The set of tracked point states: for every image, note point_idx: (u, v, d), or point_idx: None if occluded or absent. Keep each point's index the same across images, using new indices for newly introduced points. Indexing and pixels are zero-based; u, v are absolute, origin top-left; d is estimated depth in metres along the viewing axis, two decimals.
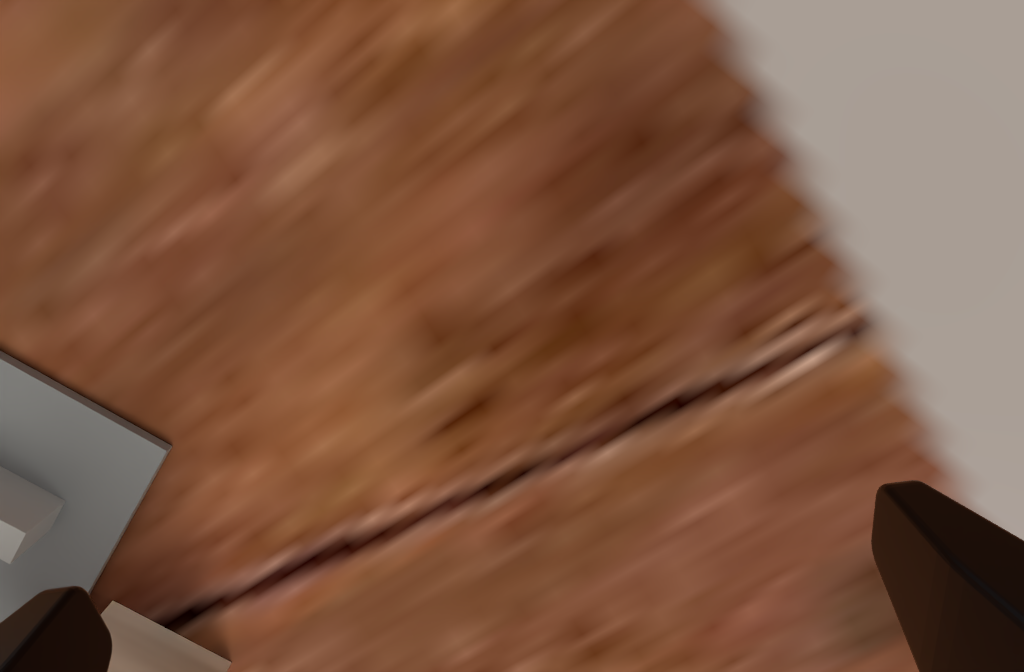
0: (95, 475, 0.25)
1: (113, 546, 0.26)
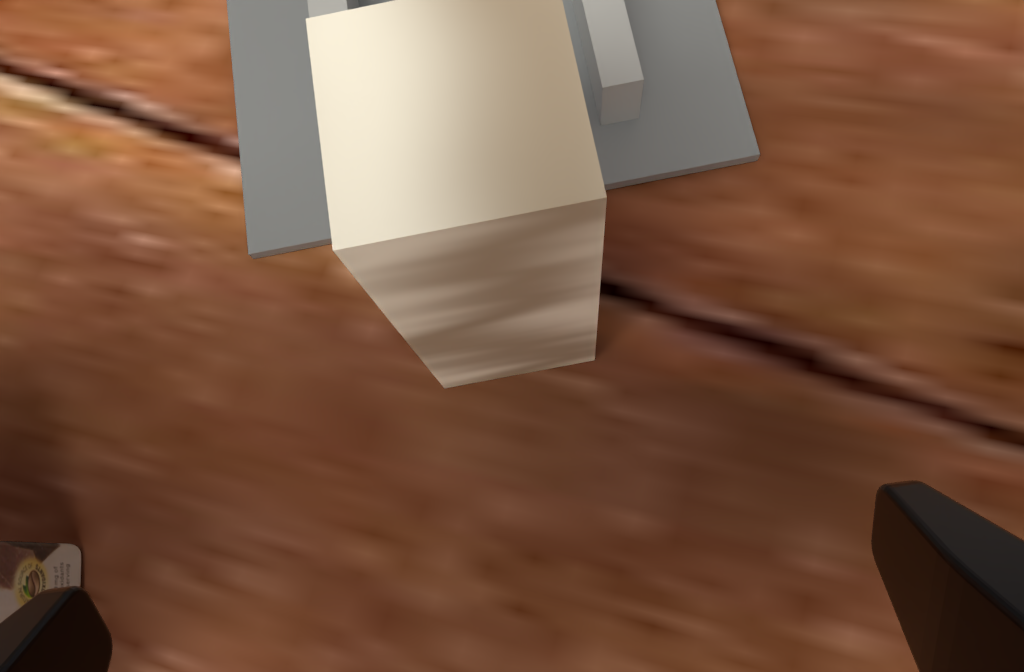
0: (684, 122, 0.25)
1: (630, 179, 0.24)
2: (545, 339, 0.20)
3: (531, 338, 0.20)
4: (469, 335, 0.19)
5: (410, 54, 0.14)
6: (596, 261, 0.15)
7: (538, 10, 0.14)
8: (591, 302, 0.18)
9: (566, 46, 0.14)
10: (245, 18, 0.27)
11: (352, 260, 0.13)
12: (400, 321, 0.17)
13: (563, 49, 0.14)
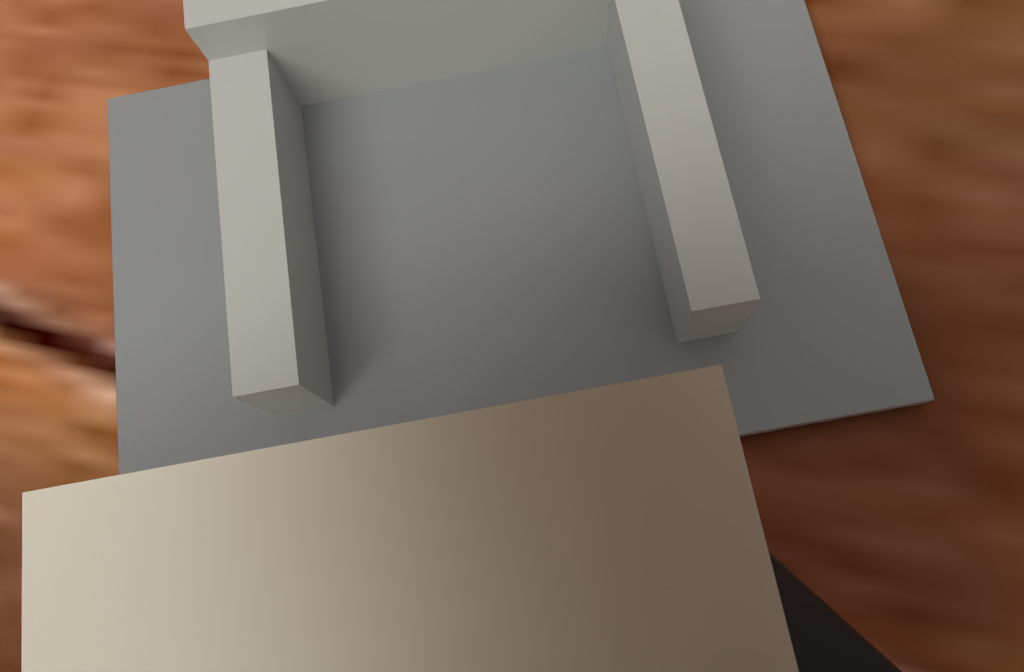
0: (809, 341, 0.16)
1: None
2: None
3: None
4: None
5: (306, 636, 0.05)
6: None
7: (680, 506, 0.05)
8: None
9: (772, 642, 0.04)
10: (134, 154, 0.18)
11: None
12: None
13: (763, 651, 0.04)
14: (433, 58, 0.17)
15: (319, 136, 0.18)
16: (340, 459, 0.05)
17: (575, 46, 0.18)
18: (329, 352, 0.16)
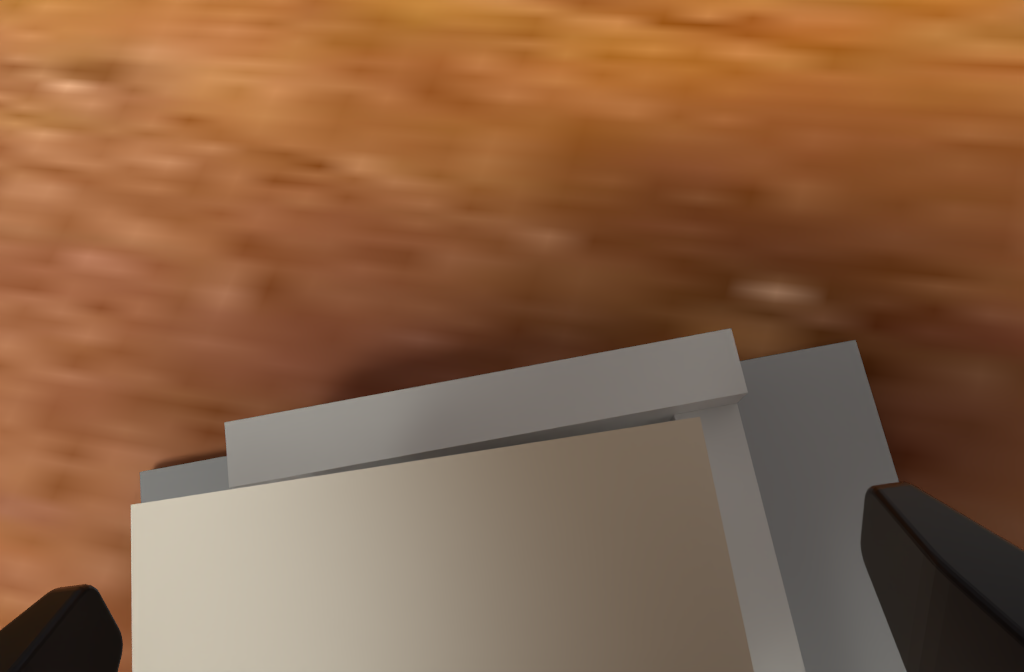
0: None
1: None
2: None
3: None
4: None
5: (360, 627, 0.06)
6: None
7: (663, 531, 0.06)
8: None
9: (732, 642, 0.06)
10: None
11: None
12: None
13: (725, 649, 0.06)
14: None
15: None
16: (389, 485, 0.06)
17: None
18: None
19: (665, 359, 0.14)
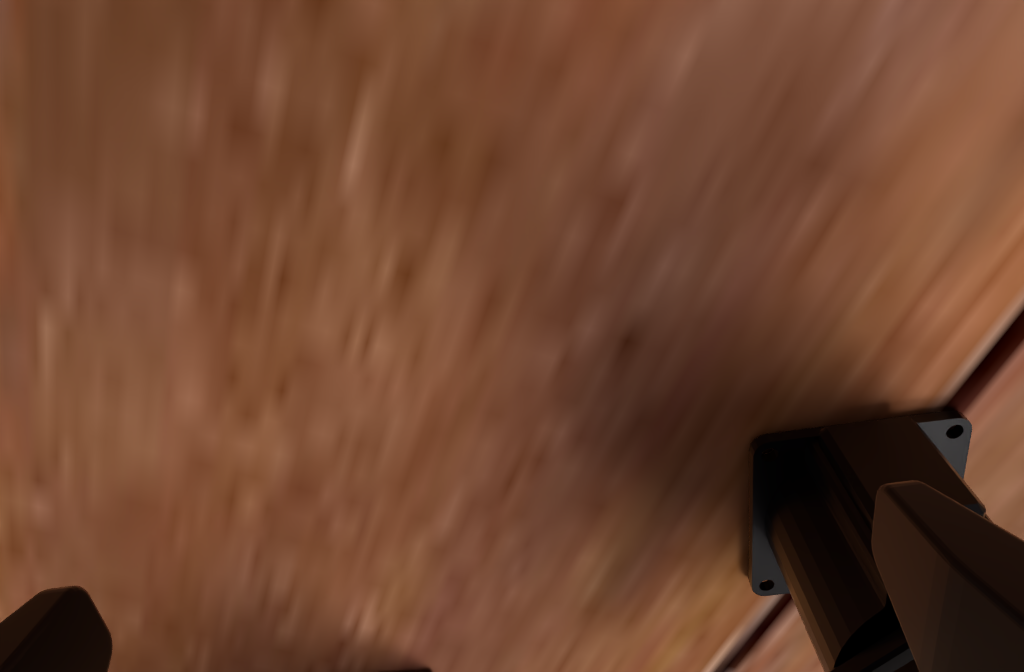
0: None
1: None
2: None
3: None
4: None
5: None
6: None
7: None
8: None
9: None
10: None
11: None
12: None
13: None
14: None
15: None
16: None
17: None
18: None
19: None
